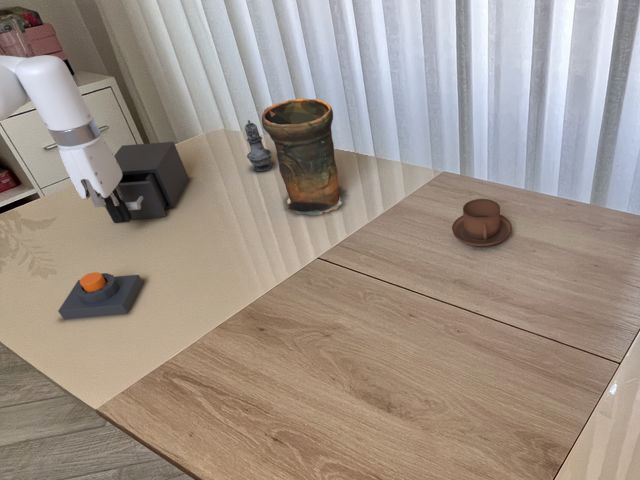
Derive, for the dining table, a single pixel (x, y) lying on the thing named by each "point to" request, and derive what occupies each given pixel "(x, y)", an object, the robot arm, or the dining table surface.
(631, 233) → the dining table surface
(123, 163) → the small drawer cabinet
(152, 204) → the dark grey drawer
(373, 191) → the dining table surface
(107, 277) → the control block
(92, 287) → the button
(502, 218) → the cup and saucer
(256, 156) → the grey chess piece
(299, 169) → the vessel
